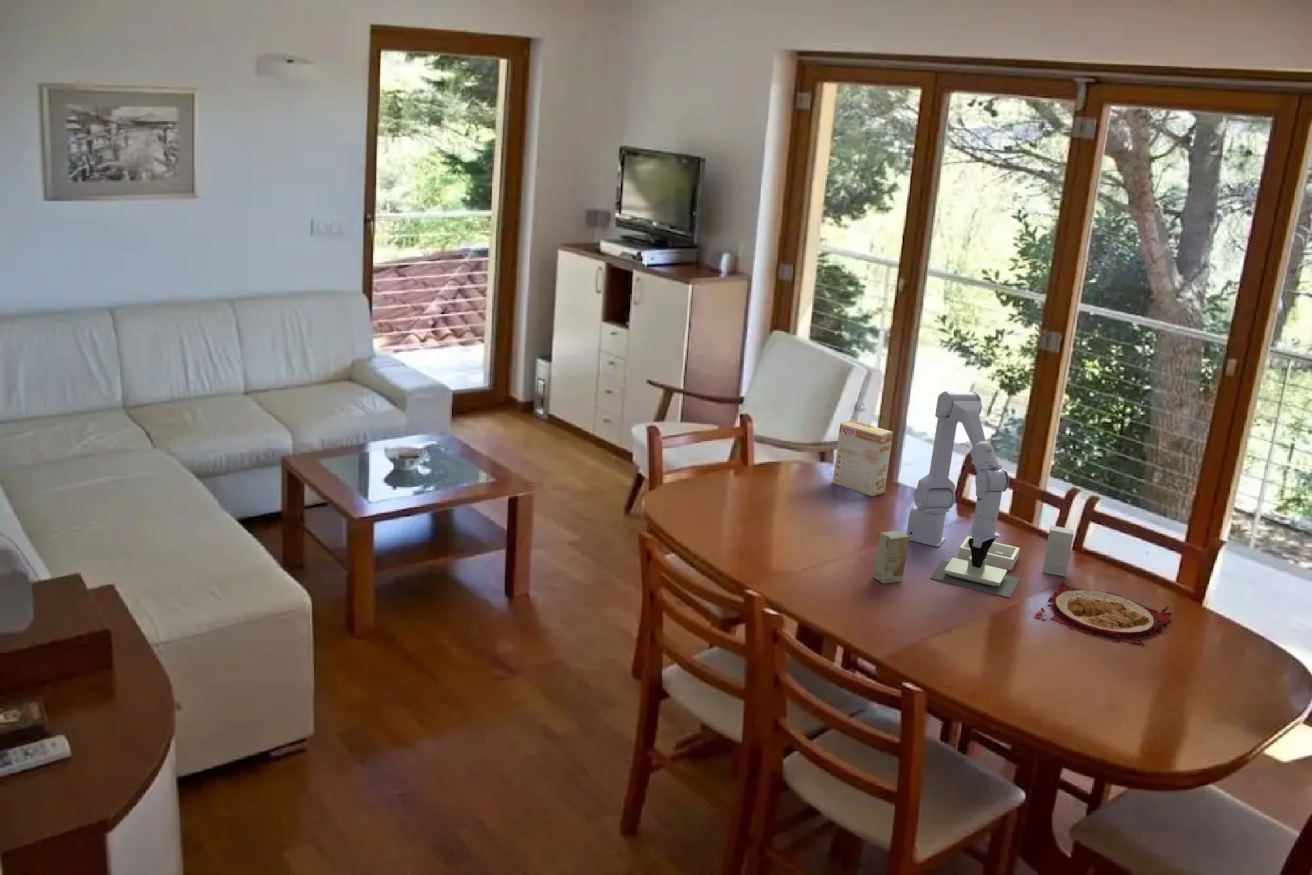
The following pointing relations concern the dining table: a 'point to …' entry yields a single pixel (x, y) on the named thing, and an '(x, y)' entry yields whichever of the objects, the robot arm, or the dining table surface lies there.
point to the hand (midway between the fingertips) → (977, 564)
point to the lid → (975, 572)
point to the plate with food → (1105, 614)
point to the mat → (1002, 590)
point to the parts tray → (993, 554)
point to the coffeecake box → (862, 457)
